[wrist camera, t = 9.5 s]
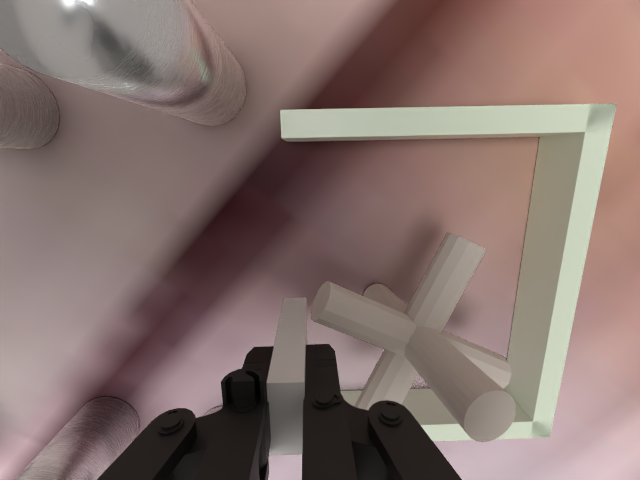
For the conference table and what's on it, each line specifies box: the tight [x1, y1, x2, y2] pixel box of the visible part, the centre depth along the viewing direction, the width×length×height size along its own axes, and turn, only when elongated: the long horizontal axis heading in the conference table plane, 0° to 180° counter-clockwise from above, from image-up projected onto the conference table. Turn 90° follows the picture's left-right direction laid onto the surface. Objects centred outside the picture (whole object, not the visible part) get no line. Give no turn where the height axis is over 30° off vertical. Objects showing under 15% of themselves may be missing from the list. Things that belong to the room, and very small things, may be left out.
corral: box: [280, 104, 616, 441], centre depth 18 cm, size 19×15×3 cm
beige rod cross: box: [311, 233, 516, 442], centre depth 15 cm, size 10×10×10 cm
